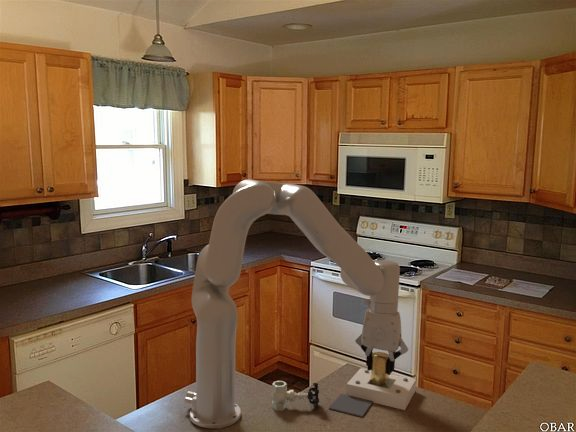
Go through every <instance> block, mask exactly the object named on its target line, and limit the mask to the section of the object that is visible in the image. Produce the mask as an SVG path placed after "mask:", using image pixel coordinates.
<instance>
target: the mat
mask: <svg viewBox="0 0 576 432" xmlns="http://www.w3.org/2000/svg"><path fill="white" fill-rule="evenodd" d="M373 404H374V403H373V401H371V400H367V399H362V398H358V397H354V396H350V395H346V393H345V394H344V393H340V394H339V395H338V396H337V397H336V399H334V401H333V402H332V404H330V406H329V407H328V409H329V410H331V411H335V412H339V413H343V414H347V415H351V416H354V417H358V418H363V417H365V414H366V413H367V411H368V410H369V408H370V407H372V405H373Z"/></svg>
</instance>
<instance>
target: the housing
mask: <svg viewBox="0 0 576 432" xmlns="http://www.w3.org/2000/svg"><path fill="white" fill-rule="evenodd" d="M416 381H417V380H416V379H414V378H411V377H410V378H409V377H406V376H400V375H396V374H392V373H391V374H390V375H389V378H388V388H384V387H380V386H375V385H371V384H370V382H371V370H370V371H369V370H368V368H363V367H360V369H359V370H357V372H356V373H355V374H354V375H353V376H352V377H351V379H350V380H348V381H347V383H346V393H345V394H346V395H350V396H354V397H358V398H362V399H367V400H371V401H373V403H372V404H378V405H382V406H387V407H389V408H395V409H398V410H402V411H405V410H406V408H407V407H408V405H409V404H410V401H411V400H412V398H413V396H414V394H415V393H416V383H417V382H416Z"/></svg>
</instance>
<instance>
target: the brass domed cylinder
mask: <svg viewBox="0 0 576 432" xmlns="http://www.w3.org/2000/svg"><path fill="white" fill-rule="evenodd" d="M388 360H389V353H388V352H387V353H386V352H383V351H382V352H381V351H375V352H373V353H372V364H371V382H370V384H371V385H375V386H380V387H384V388H388V378H389V375H388V374H387V363H388Z"/></svg>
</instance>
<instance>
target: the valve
mask: <svg viewBox="0 0 576 432" xmlns="http://www.w3.org/2000/svg"><path fill="white" fill-rule="evenodd" d="M312 386H313V387H310V388H309V390H308V391H307V393H305V392H304V391H299V392H298V393H297V392H296V391H295V390H294V389H289V390H288V383H287V382H285V381H283V380H276V381H273V383H271V390H272V391H271V394H270V397H271V400H272V401H271V408H272V409H273V410H274V411H276V412H277V411H278V412H283V411H285V409H286V408H287V405H288V404H287V401H289V403H294V401H295V400H297V399H298V400H304V399H305V398H307V400H308V402H309V404H312V406H313V407H314V408H313V407H312V408H313V409H317V410H318V409H319V404H320V398H319V395H320V390H319V383H318V382H313V383H312Z"/></svg>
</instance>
